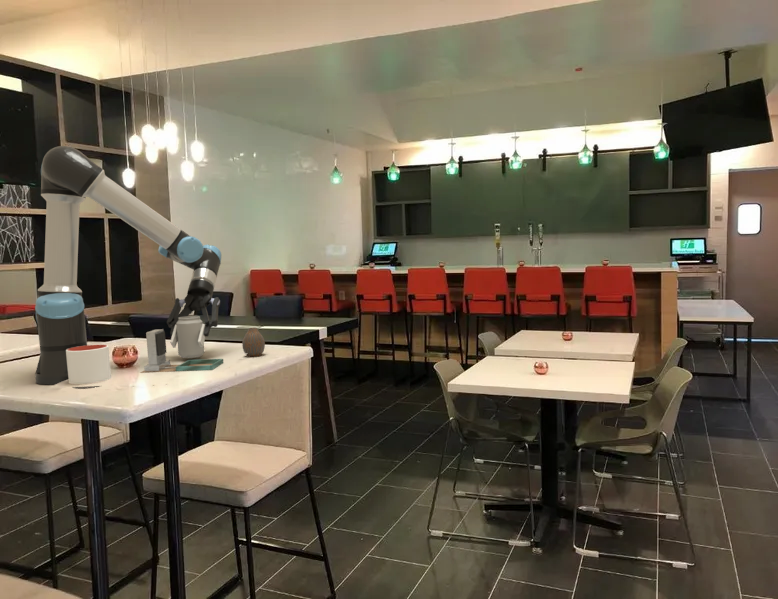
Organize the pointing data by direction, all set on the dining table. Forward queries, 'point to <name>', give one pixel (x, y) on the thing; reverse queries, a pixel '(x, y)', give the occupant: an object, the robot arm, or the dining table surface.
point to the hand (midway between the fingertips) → (186, 344)
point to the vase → (253, 343)
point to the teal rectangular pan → (193, 365)
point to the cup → (88, 365)
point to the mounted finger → (156, 351)
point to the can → (189, 336)
